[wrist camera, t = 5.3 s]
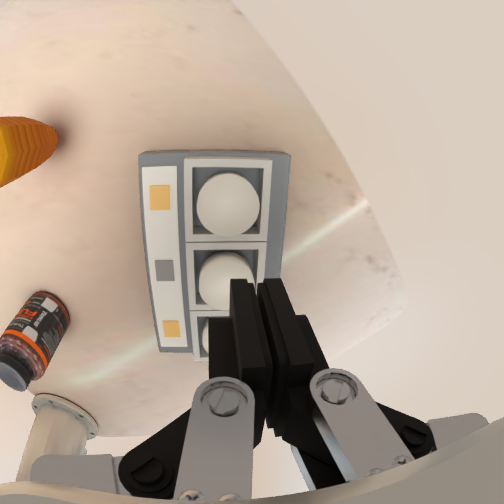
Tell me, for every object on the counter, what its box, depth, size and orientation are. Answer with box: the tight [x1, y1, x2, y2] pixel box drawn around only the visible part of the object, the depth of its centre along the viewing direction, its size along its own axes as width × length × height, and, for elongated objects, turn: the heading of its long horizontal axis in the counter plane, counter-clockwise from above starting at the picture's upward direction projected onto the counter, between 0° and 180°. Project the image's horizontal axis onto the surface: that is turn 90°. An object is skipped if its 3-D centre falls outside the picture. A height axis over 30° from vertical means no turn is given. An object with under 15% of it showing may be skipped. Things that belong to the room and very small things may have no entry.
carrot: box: [0, 117, 59, 187], centre depth 15 cm, size 5×5×15 cm
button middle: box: [199, 252, 255, 311], centre depth 24 cm, size 4×4×2 cm
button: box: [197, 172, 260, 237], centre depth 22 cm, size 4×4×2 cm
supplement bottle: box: [0, 292, 69, 391], centre depth 23 cm, size 6×6×11 cm
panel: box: [138, 150, 291, 362], centre depth 26 cm, size 20×12×4 cm, turn 177°
